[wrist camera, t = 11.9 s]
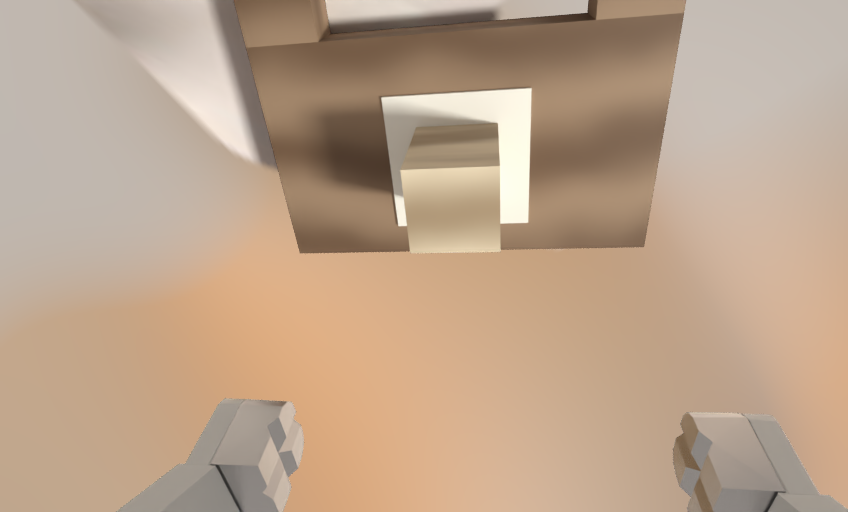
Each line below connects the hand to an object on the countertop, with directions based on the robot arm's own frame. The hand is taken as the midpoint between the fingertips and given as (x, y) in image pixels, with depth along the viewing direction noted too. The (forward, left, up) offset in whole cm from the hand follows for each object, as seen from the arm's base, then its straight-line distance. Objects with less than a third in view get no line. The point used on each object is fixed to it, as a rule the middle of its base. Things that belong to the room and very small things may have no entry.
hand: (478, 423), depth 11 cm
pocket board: (-3, -1, -23) cm, 23 cm away
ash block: (+2, -1, -20) cm, 20 cm away
